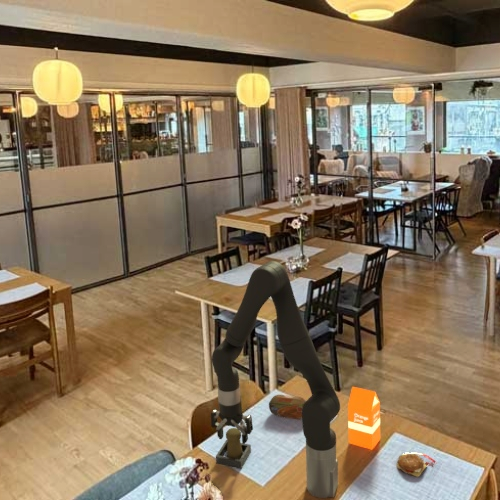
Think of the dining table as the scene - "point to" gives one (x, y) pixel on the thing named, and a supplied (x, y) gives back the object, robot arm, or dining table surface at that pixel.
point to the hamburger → (413, 463)
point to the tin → (287, 406)
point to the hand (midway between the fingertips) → (232, 440)
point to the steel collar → (231, 461)
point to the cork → (234, 443)
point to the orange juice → (364, 418)
